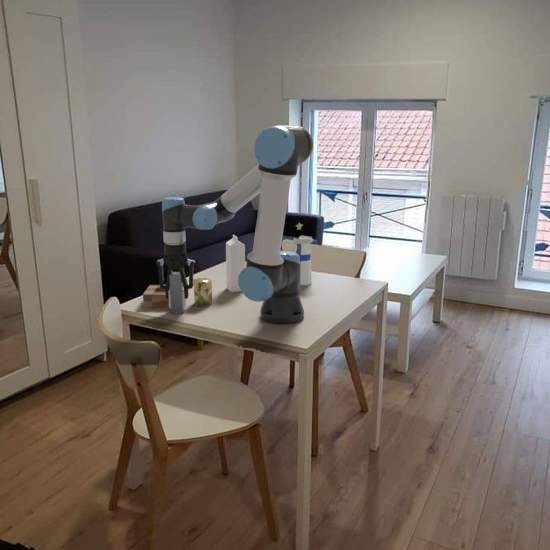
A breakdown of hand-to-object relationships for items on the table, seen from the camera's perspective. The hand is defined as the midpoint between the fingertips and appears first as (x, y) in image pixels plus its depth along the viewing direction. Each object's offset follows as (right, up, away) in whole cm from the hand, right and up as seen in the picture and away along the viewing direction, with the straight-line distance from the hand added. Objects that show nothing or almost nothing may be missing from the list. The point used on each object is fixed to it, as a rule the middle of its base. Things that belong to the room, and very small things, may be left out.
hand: (177, 307), depth 200 cm
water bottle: (+46, +8, +36) cm, 59 cm away
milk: (+19, +5, +27) cm, 33 cm away
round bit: (+8, +1, +9) cm, 12 cm away
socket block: (-7, +1, +10) cm, 12 cm away
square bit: (0, -2, 0) cm, 2 cm away
